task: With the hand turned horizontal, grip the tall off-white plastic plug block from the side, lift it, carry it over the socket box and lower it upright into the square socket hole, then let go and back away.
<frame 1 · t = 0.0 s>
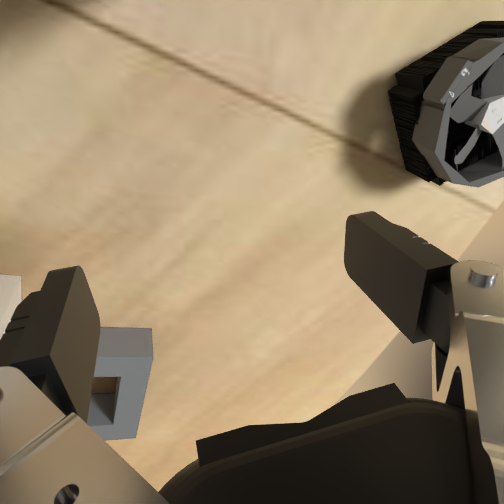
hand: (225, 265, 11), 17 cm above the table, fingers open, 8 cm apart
cpu cooler: (442, 103, 30), on the table
socket: (82, 371, 34), on the table
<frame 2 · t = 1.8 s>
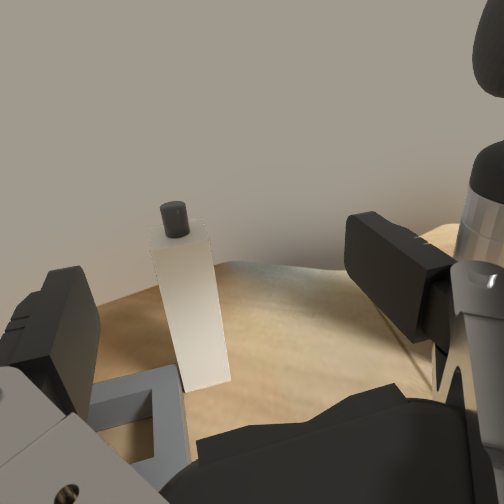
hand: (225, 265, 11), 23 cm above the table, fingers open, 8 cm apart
plug: (204, 369, 38), on the table
socket: (122, 457, 30), on the table
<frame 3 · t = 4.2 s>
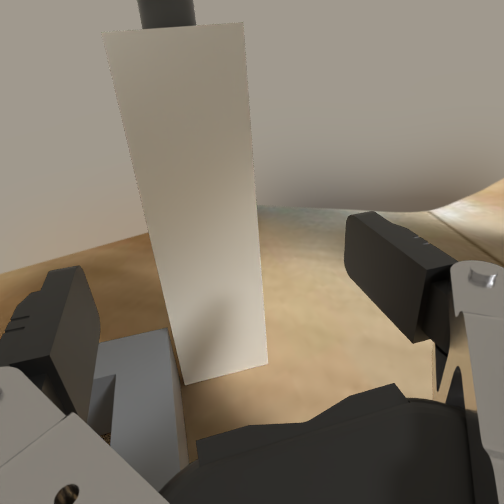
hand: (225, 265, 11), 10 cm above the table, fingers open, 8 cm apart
plug: (219, 345, 22), on the table
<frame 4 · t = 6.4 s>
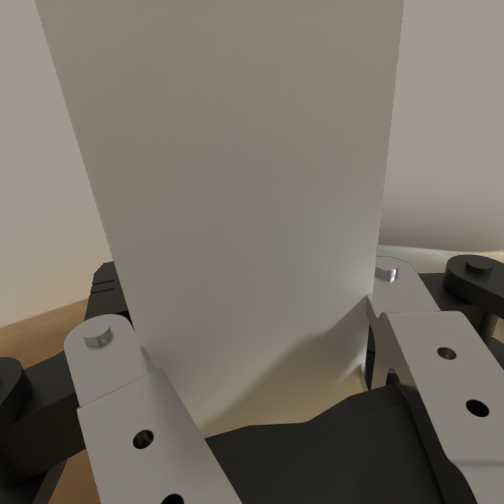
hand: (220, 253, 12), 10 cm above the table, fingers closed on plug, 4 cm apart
plug: (262, 498, 14), on the table, touching gripper
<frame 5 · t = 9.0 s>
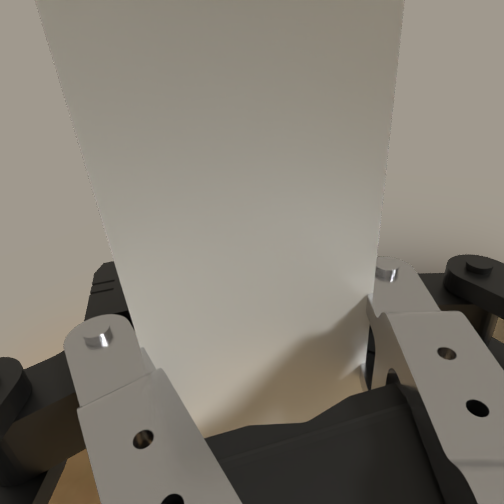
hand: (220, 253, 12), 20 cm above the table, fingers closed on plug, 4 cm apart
plug: (263, 498, 14), point 10 cm above the table, touching gripper
when the fingers open (10 cm above the table, at t = 11.7 s): plug stays where it is, resting in socket.
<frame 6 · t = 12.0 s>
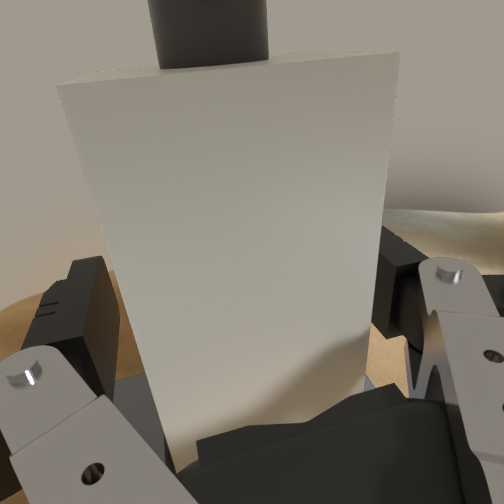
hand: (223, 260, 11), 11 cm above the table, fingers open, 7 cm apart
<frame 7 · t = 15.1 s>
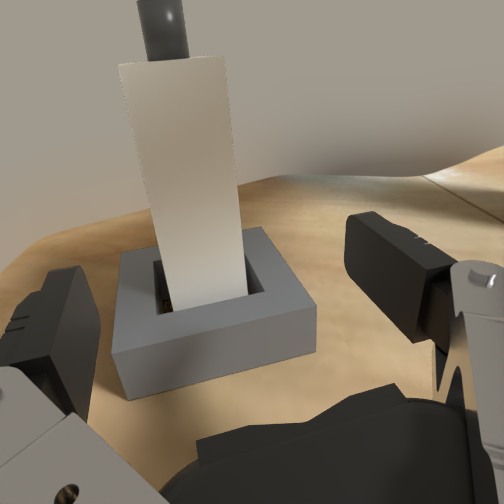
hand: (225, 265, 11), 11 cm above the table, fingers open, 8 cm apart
plug: (211, 316, 26), resting in socket
socket: (210, 316, 26), on the table
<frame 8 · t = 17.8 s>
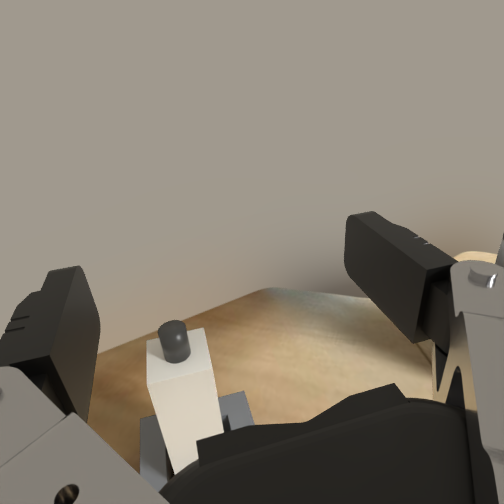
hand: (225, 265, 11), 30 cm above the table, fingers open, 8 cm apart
plug: (206, 474, 35), resting in socket
socket: (206, 474, 35), on the table
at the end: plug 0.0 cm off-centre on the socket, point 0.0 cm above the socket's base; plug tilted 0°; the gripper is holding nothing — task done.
